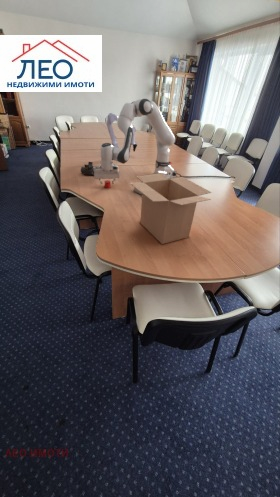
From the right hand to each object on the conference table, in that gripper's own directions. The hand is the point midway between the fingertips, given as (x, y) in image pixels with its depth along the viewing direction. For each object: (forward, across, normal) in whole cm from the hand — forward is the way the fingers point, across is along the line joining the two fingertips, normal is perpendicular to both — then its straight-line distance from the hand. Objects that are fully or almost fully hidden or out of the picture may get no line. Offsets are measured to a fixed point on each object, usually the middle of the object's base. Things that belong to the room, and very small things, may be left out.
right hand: (107, 183), depth 179 cm
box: (+3, +26, -70) cm, 75 cm away
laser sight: (+3, -10, +29) cm, 31 cm away
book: (+3, +34, -12) cm, 36 cm away
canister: (+3, 0, 0) cm, 3 cm away
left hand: (-4, +37, +88) cm, 96 cm away
